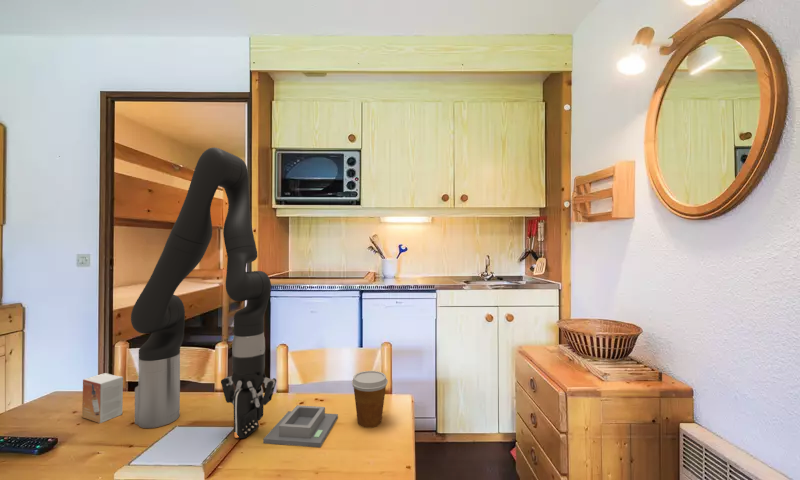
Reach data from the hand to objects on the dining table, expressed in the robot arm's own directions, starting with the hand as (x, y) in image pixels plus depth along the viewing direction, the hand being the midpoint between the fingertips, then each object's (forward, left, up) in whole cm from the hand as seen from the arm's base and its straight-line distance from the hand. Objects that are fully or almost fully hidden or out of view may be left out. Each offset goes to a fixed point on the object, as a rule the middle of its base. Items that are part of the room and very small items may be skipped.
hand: (248, 419), depth 89 cm
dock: (+13, +3, -3) cm, 14 cm away
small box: (-44, +3, -4) cm, 44 cm away
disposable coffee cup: (+29, +9, -4) cm, 31 cm away
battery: (0, 0, -4) cm, 4 cm away
